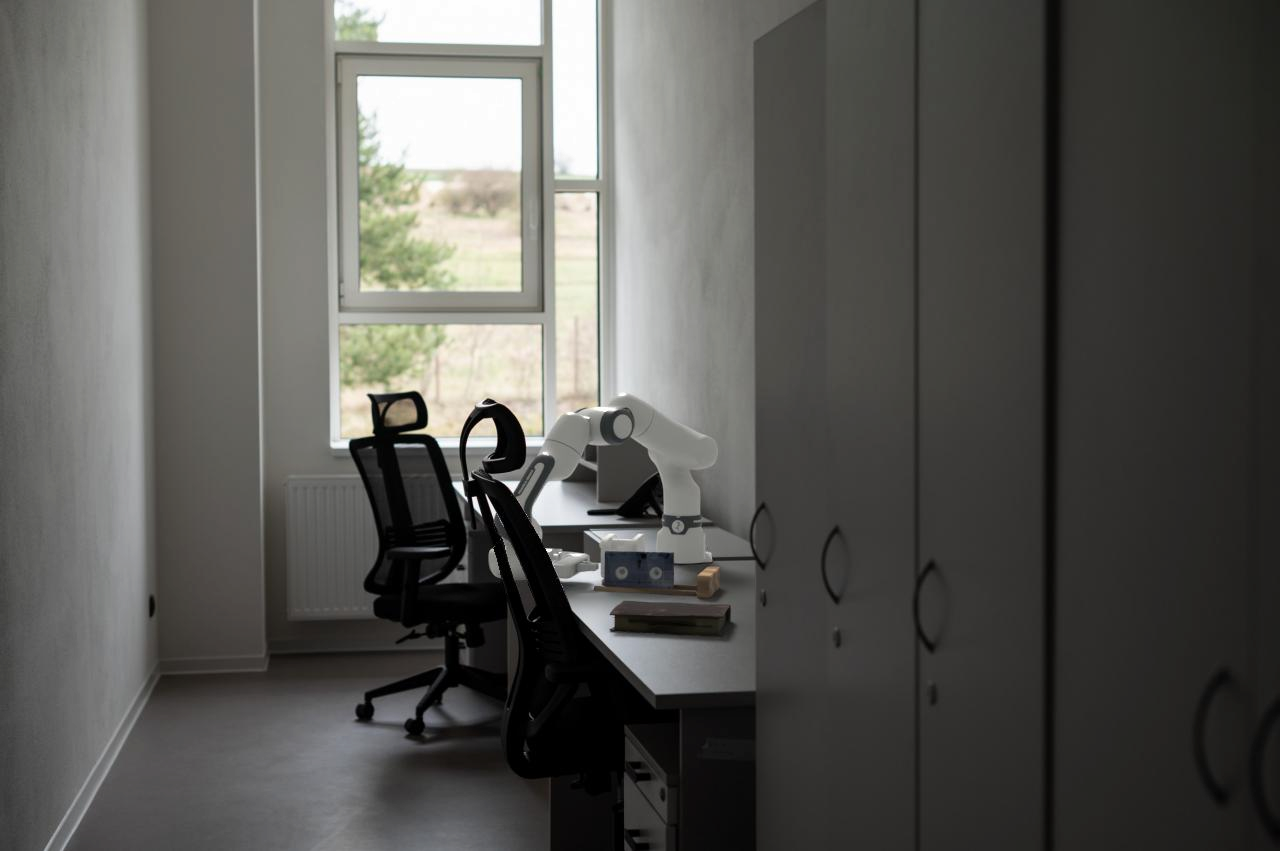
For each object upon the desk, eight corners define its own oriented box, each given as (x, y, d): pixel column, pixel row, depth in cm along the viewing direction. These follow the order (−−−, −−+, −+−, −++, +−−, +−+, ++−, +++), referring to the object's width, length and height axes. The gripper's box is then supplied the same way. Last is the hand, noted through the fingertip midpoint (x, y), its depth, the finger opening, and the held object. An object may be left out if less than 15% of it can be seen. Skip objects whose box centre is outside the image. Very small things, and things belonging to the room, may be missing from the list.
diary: (623, 619, 295) (624, 598, 295) (730, 624, 291) (730, 602, 291) (608, 634, 277) (608, 611, 277) (722, 639, 273) (722, 616, 273)
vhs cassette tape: (674, 589, 333) (674, 551, 332) (673, 591, 330) (674, 553, 330) (604, 588, 334) (605, 550, 334) (603, 590, 331) (603, 552, 331)
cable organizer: (636, 582, 343) (637, 539, 343) (598, 581, 345) (598, 538, 344) (645, 573, 358) (645, 532, 358) (608, 572, 360) (608, 531, 359)
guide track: (606, 582, 342) (606, 561, 342) (719, 587, 335) (719, 566, 335) (590, 592, 327) (590, 570, 326) (709, 598, 320) (709, 576, 319)
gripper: (535, 558, 327) (586, 561, 324) (558, 547, 347) (606, 549, 344) (535, 583, 328) (586, 585, 325) (558, 570, 348) (606, 573, 344)
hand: (597, 567), depth 335 cm, fingers closed
